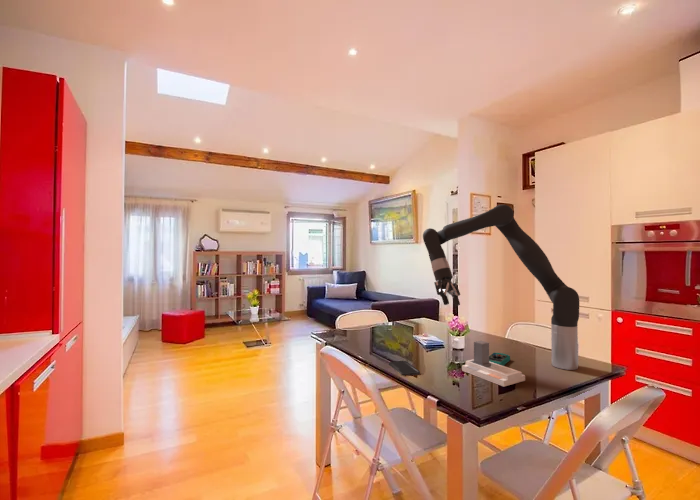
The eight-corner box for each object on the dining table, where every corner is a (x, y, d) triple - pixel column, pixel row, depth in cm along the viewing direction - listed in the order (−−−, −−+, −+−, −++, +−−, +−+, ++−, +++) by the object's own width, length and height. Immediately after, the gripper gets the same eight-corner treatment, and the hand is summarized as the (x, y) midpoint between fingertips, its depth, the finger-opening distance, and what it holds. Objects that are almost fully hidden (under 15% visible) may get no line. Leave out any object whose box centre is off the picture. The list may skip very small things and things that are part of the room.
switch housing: (482, 365, 142) (482, 357, 142) (525, 380, 125) (525, 371, 125) (461, 370, 136) (461, 361, 136) (503, 386, 120) (503, 376, 120)
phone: (405, 360, 147) (420, 372, 132) (405, 363, 147) (420, 375, 132) (388, 362, 145) (402, 373, 130) (388, 364, 145) (402, 376, 130)
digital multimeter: (510, 361, 150) (510, 354, 150) (501, 369, 138) (501, 362, 138) (493, 357, 154) (493, 351, 154) (482, 366, 143) (482, 359, 143)
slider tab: (480, 362, 138) (480, 340, 139) (490, 366, 134) (490, 343, 134) (472, 364, 136) (472, 341, 136) (482, 368, 132) (482, 344, 132)
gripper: (439, 265, 146) (450, 301, 139) (457, 268, 155) (468, 303, 148) (425, 271, 150) (435, 307, 144) (443, 275, 160) (454, 308, 153)
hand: (452, 305), depth 146 cm, fingers open, 8 cm apart
